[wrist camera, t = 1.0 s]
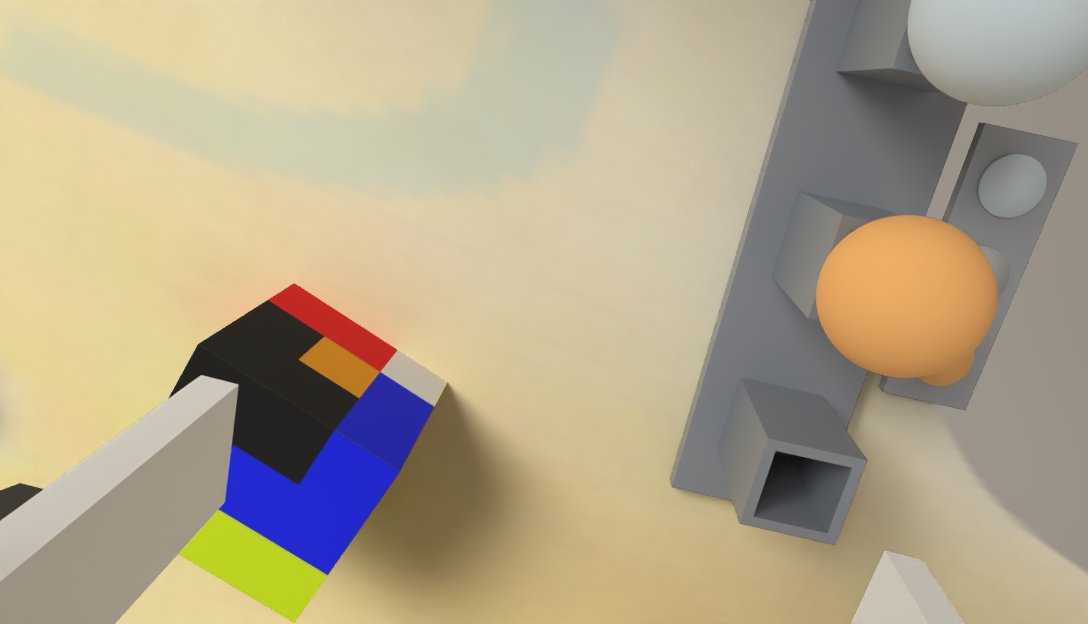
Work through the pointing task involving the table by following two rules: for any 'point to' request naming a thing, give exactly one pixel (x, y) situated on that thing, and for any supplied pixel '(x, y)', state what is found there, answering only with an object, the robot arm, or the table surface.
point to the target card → (995, 235)
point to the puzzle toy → (304, 443)
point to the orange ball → (906, 296)
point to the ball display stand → (811, 271)
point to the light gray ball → (999, 47)
